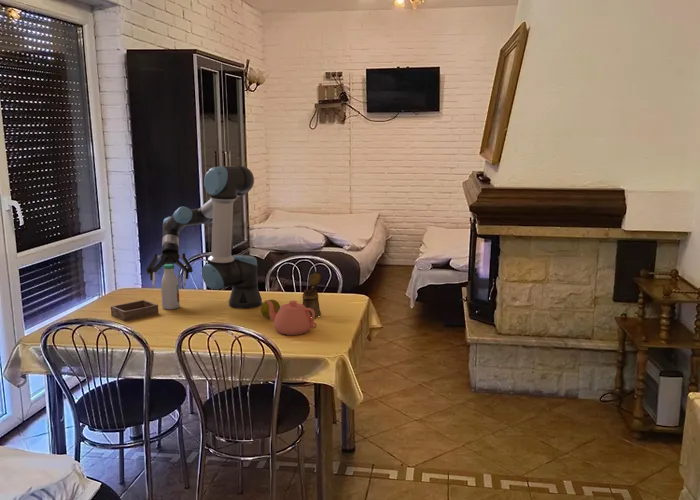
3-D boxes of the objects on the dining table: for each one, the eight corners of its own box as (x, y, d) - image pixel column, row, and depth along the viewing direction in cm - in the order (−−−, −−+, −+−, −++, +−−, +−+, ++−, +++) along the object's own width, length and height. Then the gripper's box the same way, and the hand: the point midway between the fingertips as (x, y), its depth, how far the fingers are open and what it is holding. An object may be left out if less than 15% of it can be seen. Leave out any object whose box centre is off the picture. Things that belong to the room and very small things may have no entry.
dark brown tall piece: (326, 311, 285) (326, 272, 281) (317, 319, 272) (316, 278, 269) (308, 309, 287) (307, 270, 284) (297, 317, 274) (297, 277, 271)
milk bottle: (174, 310, 285) (172, 266, 281) (159, 309, 287) (156, 266, 283) (182, 305, 292) (180, 263, 289) (167, 304, 294) (165, 262, 290)
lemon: (270, 322, 268) (270, 303, 266) (256, 319, 272) (255, 301, 270) (285, 316, 277) (285, 298, 276) (271, 313, 281) (271, 295, 279)
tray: (158, 313, 279) (158, 305, 279) (125, 321, 268) (124, 312, 268) (144, 308, 288) (143, 299, 287) (111, 315, 277) (110, 306, 276)
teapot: (257, 334, 252) (257, 303, 250) (273, 323, 267) (272, 294, 265) (310, 339, 246) (310, 308, 244) (322, 327, 261) (322, 298, 259)
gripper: (198, 250, 303) (198, 288, 291) (143, 251, 298) (141, 290, 286) (197, 241, 297) (197, 279, 285) (141, 242, 292) (139, 281, 280)
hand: (169, 285), depth 286 cm, fingers open, 13 cm apart
